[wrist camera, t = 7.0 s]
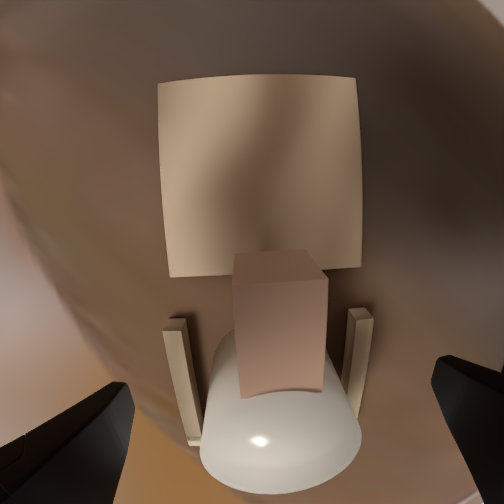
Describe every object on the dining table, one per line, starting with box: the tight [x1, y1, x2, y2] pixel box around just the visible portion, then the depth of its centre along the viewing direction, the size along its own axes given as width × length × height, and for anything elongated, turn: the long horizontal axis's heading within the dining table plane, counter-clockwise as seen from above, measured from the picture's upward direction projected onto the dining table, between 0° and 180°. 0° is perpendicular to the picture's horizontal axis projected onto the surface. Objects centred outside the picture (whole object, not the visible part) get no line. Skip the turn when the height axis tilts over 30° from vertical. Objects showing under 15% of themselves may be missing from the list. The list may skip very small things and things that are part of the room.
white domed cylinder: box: [200, 249, 362, 494], centre depth 14 cm, size 11×7×7 cm, turn 3°
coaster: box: [158, 74, 362, 277], centre depth 15 cm, size 10×10×1 cm
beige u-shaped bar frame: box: [162, 307, 374, 446], centre depth 17 cm, size 11×9×2 cm
